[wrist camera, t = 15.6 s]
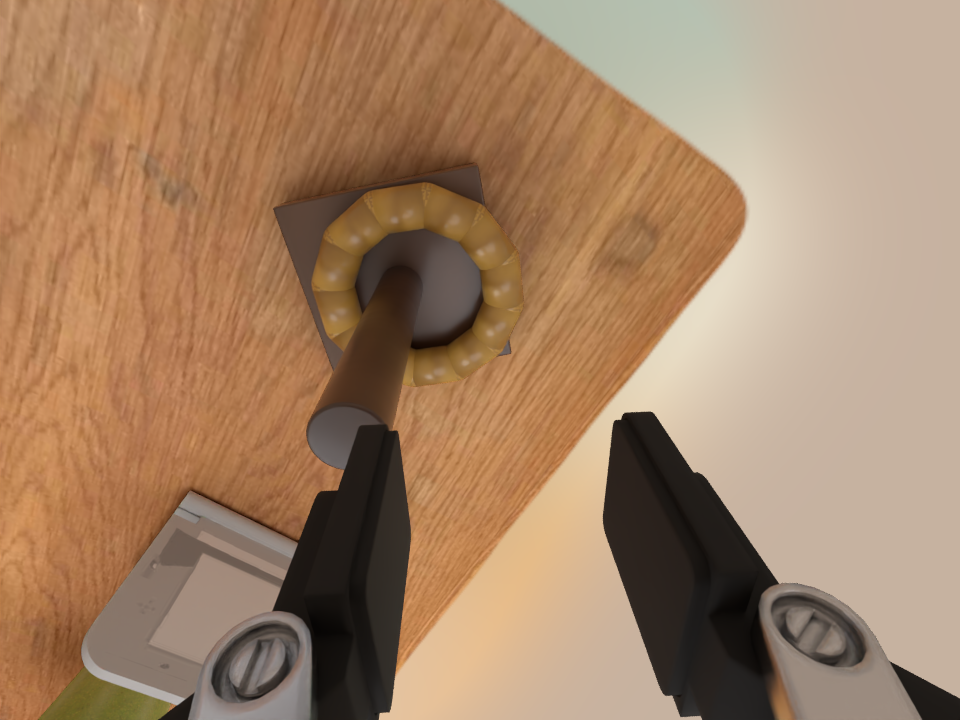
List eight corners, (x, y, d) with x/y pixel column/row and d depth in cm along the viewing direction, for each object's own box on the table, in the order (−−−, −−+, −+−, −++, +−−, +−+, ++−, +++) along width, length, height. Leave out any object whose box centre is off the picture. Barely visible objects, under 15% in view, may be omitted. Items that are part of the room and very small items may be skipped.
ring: (508, 166, 20) (512, 171, 19) (528, 360, 24) (533, 377, 23) (293, 200, 20) (279, 207, 19) (350, 385, 25) (342, 404, 23)
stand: (476, 162, 22) (498, 213, 9) (509, 342, 25) (553, 540, 13) (283, 202, 22) (67, 301, 10) (344, 373, 26) (244, 592, 14)
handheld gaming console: (132, 572, 32) (4, 749, 23) (192, 487, 29) (72, 650, 20) (307, 645, 36) (257, 820, 27) (376, 577, 33) (344, 747, 24)
